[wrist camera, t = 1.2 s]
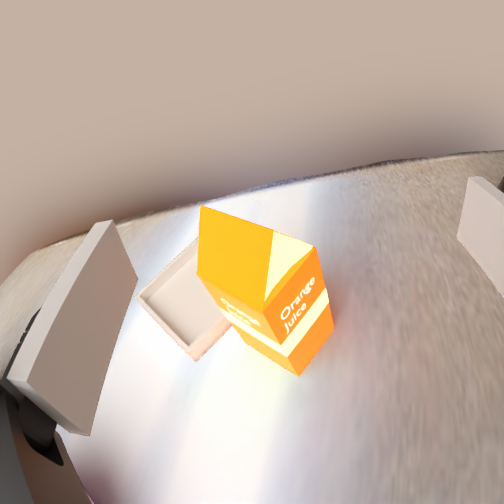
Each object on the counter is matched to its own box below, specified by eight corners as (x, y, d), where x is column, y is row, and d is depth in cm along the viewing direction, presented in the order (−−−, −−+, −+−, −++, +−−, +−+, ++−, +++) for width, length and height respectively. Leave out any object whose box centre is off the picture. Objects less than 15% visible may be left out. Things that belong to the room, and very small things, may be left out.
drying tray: (209, 241, 56) (204, 231, 54) (277, 277, 45) (272, 267, 43) (141, 305, 50) (134, 296, 49) (196, 362, 39) (187, 354, 38)
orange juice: (298, 378, 34) (237, 269, 20) (244, 343, 39) (166, 233, 26) (335, 327, 37) (304, 196, 23) (281, 299, 42) (227, 178, 29)
